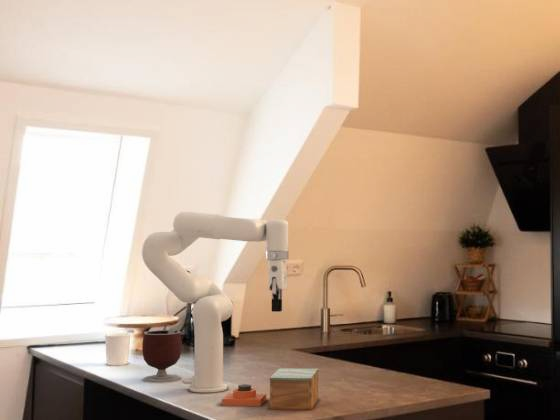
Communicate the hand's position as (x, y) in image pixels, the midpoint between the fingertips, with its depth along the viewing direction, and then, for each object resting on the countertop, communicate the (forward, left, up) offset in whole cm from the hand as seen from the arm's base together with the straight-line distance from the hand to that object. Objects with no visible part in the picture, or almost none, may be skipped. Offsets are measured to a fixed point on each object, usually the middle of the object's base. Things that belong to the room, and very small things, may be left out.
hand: (276, 311), depth 255 cm
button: (-7, -16, -24) cm, 29 cm away
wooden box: (+9, -17, -27) cm, 33 cm away
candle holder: (-76, +55, -27) cm, 98 cm away
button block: (-7, -16, -27) cm, 32 cm away
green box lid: (+9, -17, -18) cm, 27 cm away
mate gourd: (-46, +23, -27) cm, 58 cm away
